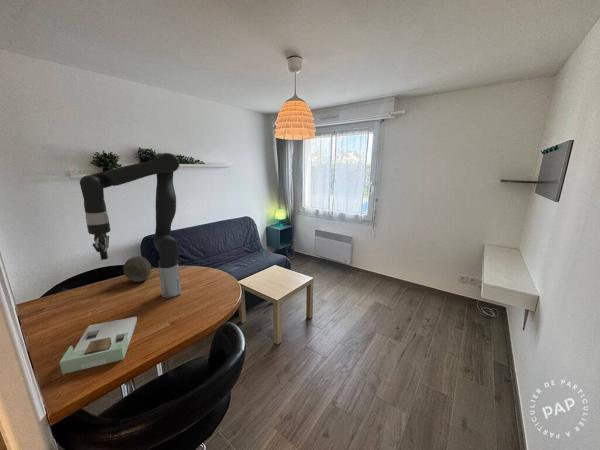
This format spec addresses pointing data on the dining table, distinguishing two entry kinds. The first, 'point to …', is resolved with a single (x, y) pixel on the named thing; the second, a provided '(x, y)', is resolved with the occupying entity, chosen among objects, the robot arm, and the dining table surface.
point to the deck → (114, 329)
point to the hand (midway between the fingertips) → (104, 258)
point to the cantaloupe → (137, 269)
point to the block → (98, 346)
